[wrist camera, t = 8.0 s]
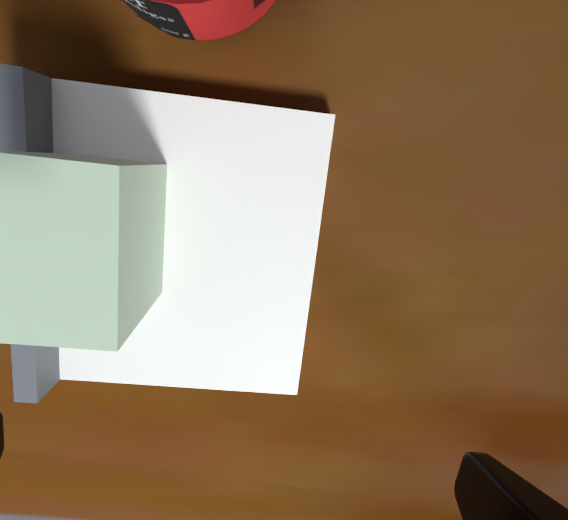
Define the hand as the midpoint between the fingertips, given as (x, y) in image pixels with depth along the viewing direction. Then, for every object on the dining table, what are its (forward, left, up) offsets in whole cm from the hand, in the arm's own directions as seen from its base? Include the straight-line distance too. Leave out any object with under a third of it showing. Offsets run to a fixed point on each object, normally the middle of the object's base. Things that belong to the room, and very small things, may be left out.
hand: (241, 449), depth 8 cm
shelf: (+4, -1, -13) cm, 13 cm away
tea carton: (+6, -2, -12) cm, 13 cm away
